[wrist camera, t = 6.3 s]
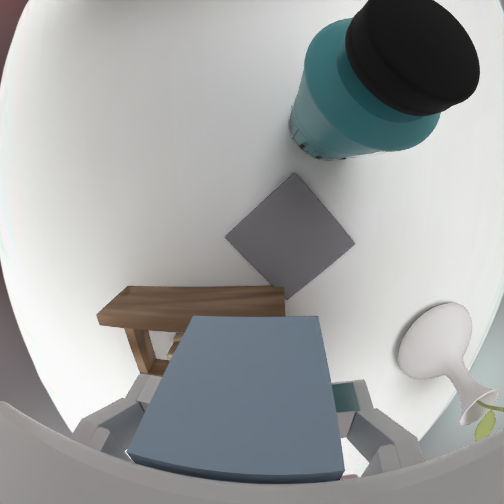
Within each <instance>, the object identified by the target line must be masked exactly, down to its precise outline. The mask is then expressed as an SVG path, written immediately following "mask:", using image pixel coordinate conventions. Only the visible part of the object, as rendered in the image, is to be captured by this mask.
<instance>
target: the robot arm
mask: <svg viewBox="0 0 504 504" xmlns="http://www.w3.org/2000/svg"><path fill="white" fill-rule="evenodd" d="M161 379H162V377H159V376H153V375H147V374H142V373H141V374H140V375H138V377H137V379H136V380H135V382H134V384H133V385H132V387H131V389H130V390H129V392H128V394H127V396H126V397H125V398H121V399H119V400H117V401H115V402H114V403H112V404H110V405H108V406H106V407H104V408H102V409H101V410H99V411H97V412H95V413H93V414H91V415H89V416H87V417H85V418H83V419H82V420H81V421H80V423H79V424H78V426H77V427H76V429H75V431H74V432H73V434H72V435H71V437H70V438H67V437H65V436H63V435H61V434H59V433H57V432H55V431H53V430H51V429H49V428H47V427H46V426H44V425H42V424H40V423H38V422H36V421H34V420H33V419H31V418H30V417H28V416H26V415H25V414H23V413H22V412H20V411H18V410H16V409H15V408H14V407H12V406H11V405H9V404H8V403H6V402H4V401H0V504H504V428H502V429H500V430H499V431H497V432H495V433H493V434H491V435H489V436H487V437H485V438H483V439H481V440H479V441H477V442H475V443H472V444H470V445H468V446H465V447H463V448H461V449H459V450H456V451H453V452H451V453H448V454H446V455H443V456H440V457H437V458H435V459H432V460H429V461H425V460H424V457H423V455H422V451H421V448H420V445H419V442H418V440H417V437H416V436H414V435H413V434H411V433H410V432H409V431H407V430H406V429H404V428H403V427H402V426H400V425H399V424H398V423H396V422H395V421H393V420H392V419H391V418H389V417H388V416H387V415H385V414H384V413H383V412H381V411H380V410H379V409H377V408H376V409H374V408H373V404H372V401H371V398H370V395H369V391H368V388H367V385H366V382H365V380H364V379H363V380H355V381H345V382H334V383H331V384H332V390H333V396H334V401H335V407H336V413H337V419H338V426H339V432H340V438H345V437H347V439H348V440H349V441H350V442H351V443H352V444H353V445H354V447H355V448H356V449H357V450H358V451H359V452H360V453H361V454H362V455H363V456H364V457H365V458H366V459H367V460H368V462H369V463H370V464H369V465H368V467H367V468H366V470H365V471H364V473H363V474H362V476H361V477H359V478H353V479H347V480H339V481H330V482H319V483H303V484H254V483H239V482H227V481H218V480H211V479H204V478H197V477H191V476H186V475H181V474H176V473H171V472H166V471H162V470H158V469H154V468H150V467H146V466H143V465H139V464H136V463H132V462H131V459H130V458H129V456H128V455H127V454H126V453H125V450H126V449H128V447H129V445H130V443H131V441H132V439H133V437H134V434H135V432H136V430H137V428H138V426H139V424H140V422H141V420H142V418H143V416H144V413H145V411H146V409H147V407H148V405H149V403H150V401H151V399H152V397H153V395H154V393H155V391H156V389H157V387H158V385H159V383H160V381H161Z"/></svg>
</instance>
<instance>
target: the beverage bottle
mask: <svg viewBox="0 0 504 504" xmlns="http://www.w3.org/2000/svg"><path fill="white" fill-rule="evenodd" d="M479 76H480V66H479V60H478V56H477V52H476V50H475V47H474V45H473V43H472V40H471V39H470V37H469V35H468V34H467V32H466V31H465V29H464V28H463V26H462V25H461V24H460V23H459V22H458V20H457V19H456V18H455V17H454V16H453V15H452V14H451V13H450V12H449V11H447V10H446V9H445V8H444V7H442V6H441V5H440V4H438V3H437V2H435V1H434V0H368V2H367V3H366V4H365V6H364V7H363V8H362V9H361V10H360V11H359V12H357V14H356V15H355V16H354V17H353V18H349V19H344V20H340V21H336V22H334V23H332V24H330V25H328V26H326V27H325V28H323V29H322V30H321V31H320V32H319V33H317V35H316V36H315V37H314V38H313V40H312V42H311V43H310V45H309V47H308V50H307V53H306V57H305V62H304V71H303V75H302V79H301V83H300V87H299V91H298V94H297V96H296V99H295V102H294V106H293V109H292V112H291V117H290V122H289V123H288V125H289V124H290V126H289V128H290V131H291V132H290V131H289V132H290V133H292V135H293V138H294V139H295V141H296V143H297V145H299V147H300V148H301V149H302V150H304V151H305V152H306V153H308V154H310V155H312V156H314V157H315V158H318V159H319V158H321V159H334V158H340V159H341V157H348V156H355V155H363V154H370V153H372V154H373V153H375V152H379V151H387V152H388V151H389V152H391V151H401V150H405V149H409V148H411V147H414V146H416V145H418V144H419V143H421V142H422V141H423V140H425V139H426V138H427V137H428V136H429V135H430V134H431V132H432V131H433V130H434V128H435V127H436V125H437V122H438V120H439V117H440V113H441V112H443V111H445V110H447V109H448V108H450V107H451V106H453V105H456V104H458V103H461V102H463V101H465V100H466V99H468V98H469V97H470V96H471V95H472V94H473V93H474V91H475V90H476V88H477V85H478V82H479ZM291 107H292V106H291ZM288 118H289V117H288ZM288 121H289V120H288ZM290 135H291V134H290ZM293 138H292V139H293ZM297 147H298V146H297ZM312 156H311V157H312ZM314 157H313V158H314ZM353 158H354V157H353ZM342 159H346V158H342ZM319 160H320V159H319ZM325 161H326V160H325ZM329 161H331V160H329Z"/></svg>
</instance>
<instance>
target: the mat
mask: <svg viewBox="0 0 504 504" xmlns="http://www.w3.org/2000/svg"><path fill="white" fill-rule="evenodd" d="M225 238H226V239H227V240H228V241H229V242H230V243H231V244H232V245H233V246H234V247H235V248H236V249H237V250H238V251H239V252H240V253H241V254H242V255H243V256H244V257H245V258H246V259H247V260H248V261H249V262H250V263H251V264H252V265H253V266H254V267H255V268H256V269H257V270H258V271H259V272H260V273H261V274H262V275H263V276H264V277H265V278H266V279H267V280H268V281H269V282H270V283H271V284H272V285H273V286H274V287H284V298H285V299H286V300H288V299H289V298H290V297H291V296H293V295H294V294H295V293H296V292H298V291H299V290H300V289H301V288H303V287H304V286H305V285H306V284H308V283H309V282H310V281H311V280H313V279H314V278H315V277H316V276H318V275H319V274H320V273H321V272H323V271H324V270H325V269H326V268H327V267H329V266H330V265H331V264H332V263H333V262H335V261H336V260H337V259H338V258H339V257H341V256H342V255H343V254H344V253H345V252H346V251H348V250H349V249H350V248H351V247H352V246H353V245H355V243H354V241H353V240H352V239H351V238H350V236H349V235H348V234H347V233H346V232H345V230H344V229H343V228H342V227H341V225H340V224H339V223H338V222H337V221H336V219H335V218H334V217H333V216H332V215H331V213H330V212H329V211H328V210H327V209H326V208H325V206H324V205H323V204H322V203H321V202H320V201H319V199H318V198H317V197H316V196H315V195H314V194H313V193H312V191H311V190H310V189H309V188H308V187H307V186H306V185H305V184H304V183H303V181H302V180H301V179H300V178H299V177H298V176H297V175H296V174H295V173H294V174H293V175H292V176H290V177H289V178H288V179H287V180H286V181H285V182H284V183H283V184H282V185H281V186H279V187H278V188H277V189H276V190H275V191H274V192H273V193H272V194H271V195H270V196H268V197H267V198H266V199H265V200H264V201H263V202H262V203H261V204H260V205H259V206H258V207H256V208H255V209H254V210H253V211H252V212H251V213H250V214H249V215H248V216H247V217H246V218H245V219H244V220H242V221H241V222H240V223H239V224H238V225H237V226H236V227H235V228H234V229H233V230H232V231H231V232H230V233H229V234H228V235H226V237H225Z"/></svg>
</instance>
